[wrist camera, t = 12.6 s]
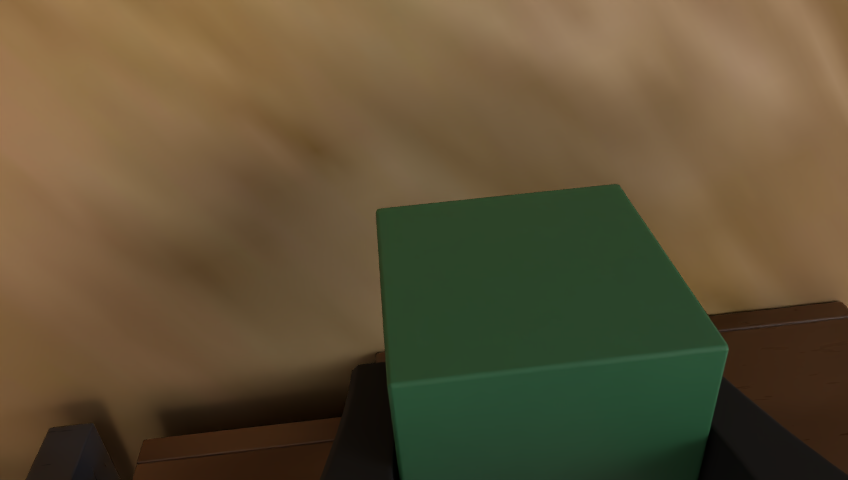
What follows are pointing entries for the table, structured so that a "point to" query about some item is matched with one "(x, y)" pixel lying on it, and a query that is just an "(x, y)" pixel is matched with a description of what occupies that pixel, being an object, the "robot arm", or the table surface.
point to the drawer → (194, 454)
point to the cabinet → (792, 370)
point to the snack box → (542, 341)
